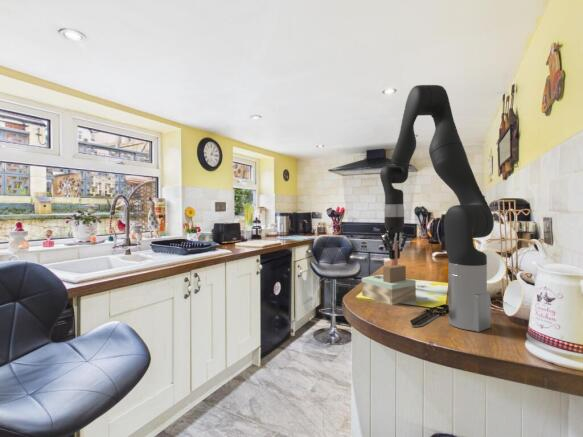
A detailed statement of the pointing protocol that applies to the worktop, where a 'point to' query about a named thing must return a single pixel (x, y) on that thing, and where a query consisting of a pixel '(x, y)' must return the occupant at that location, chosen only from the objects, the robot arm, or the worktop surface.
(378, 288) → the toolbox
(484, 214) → the robot arm
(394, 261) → the rounded rod
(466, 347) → the worktop surface
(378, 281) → the lid
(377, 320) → the worktop surface
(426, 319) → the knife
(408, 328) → the worktop surface
